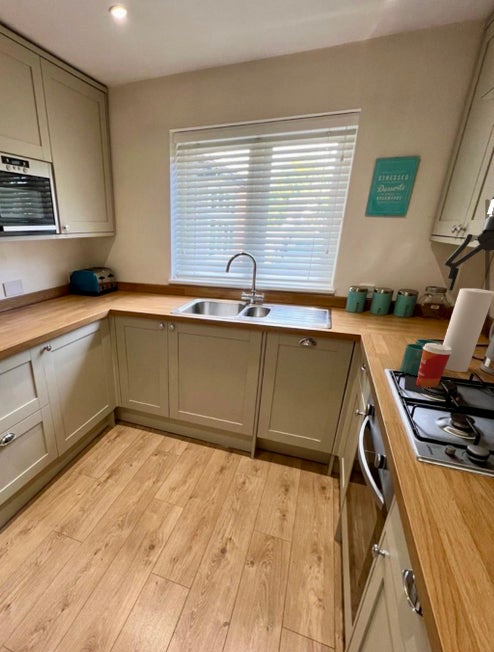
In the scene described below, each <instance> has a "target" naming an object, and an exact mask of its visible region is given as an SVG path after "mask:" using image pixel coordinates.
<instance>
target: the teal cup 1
mask: <svg viewBox="0 0 494 652" xmlns="http://www.w3.org/2000/svg"><path fill="white" fill-rule="evenodd" d="M423 347H424V345H419V344H415V343H407V344H406V346H405V349H404V354H403V356H402V360H401V365H400V369H399V372H400V371H401V372H400V373H402V372H404V373H409V374H411V375H415V376H416V375H417V376H418V372H419V367H420V363H421V358H422V354H423ZM404 373H403V374H404Z"/></svg>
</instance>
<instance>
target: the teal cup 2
mask: <svg viewBox="0 0 494 652" xmlns="http://www.w3.org/2000/svg"><path fill="white" fill-rule="evenodd" d="M427 343H436V344H441V343H440V342H439V341H436V340H432V339H427V338H425V339H423V338H419V339H418V338H417V339H416V340H415V343H414V344H419V345H424V346H425V344H427Z"/></svg>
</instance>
